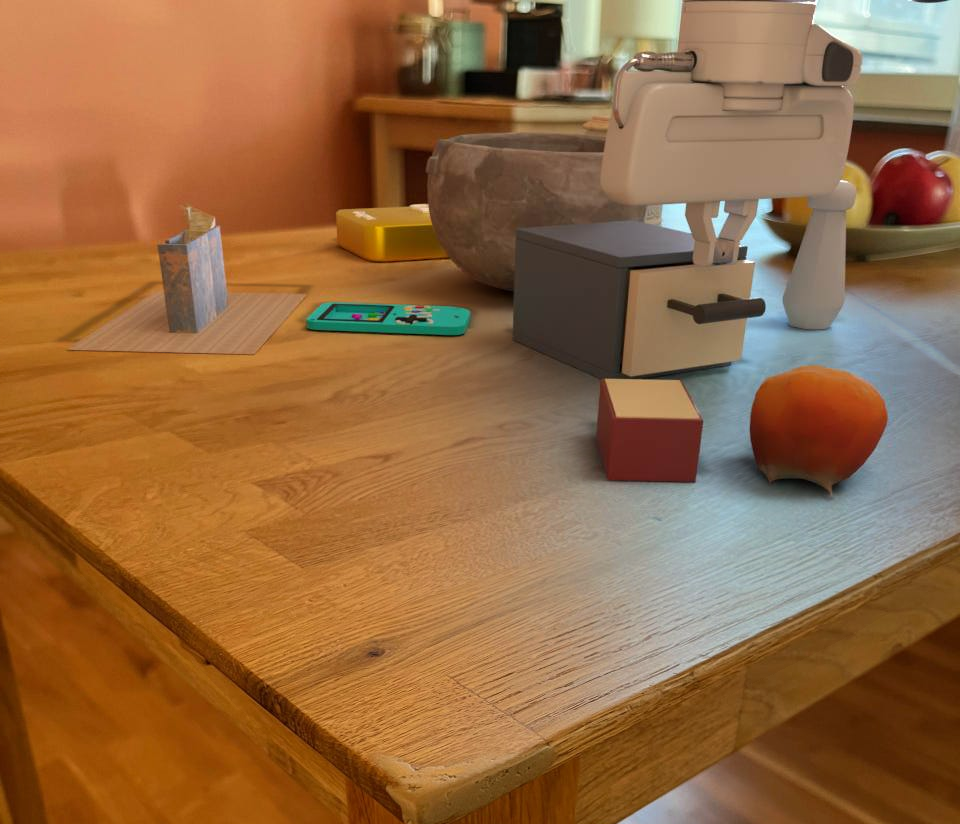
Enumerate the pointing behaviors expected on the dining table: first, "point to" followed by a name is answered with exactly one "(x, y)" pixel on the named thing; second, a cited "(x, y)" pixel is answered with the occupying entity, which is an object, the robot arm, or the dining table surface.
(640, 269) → the drawer
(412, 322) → the handheld gaming console
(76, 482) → the dining table surface
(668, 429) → the dark red box
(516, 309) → the cabinet
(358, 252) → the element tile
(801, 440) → the fruit
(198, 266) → the architectural model on board
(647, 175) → the robot arm
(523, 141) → the bowl
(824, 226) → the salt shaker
